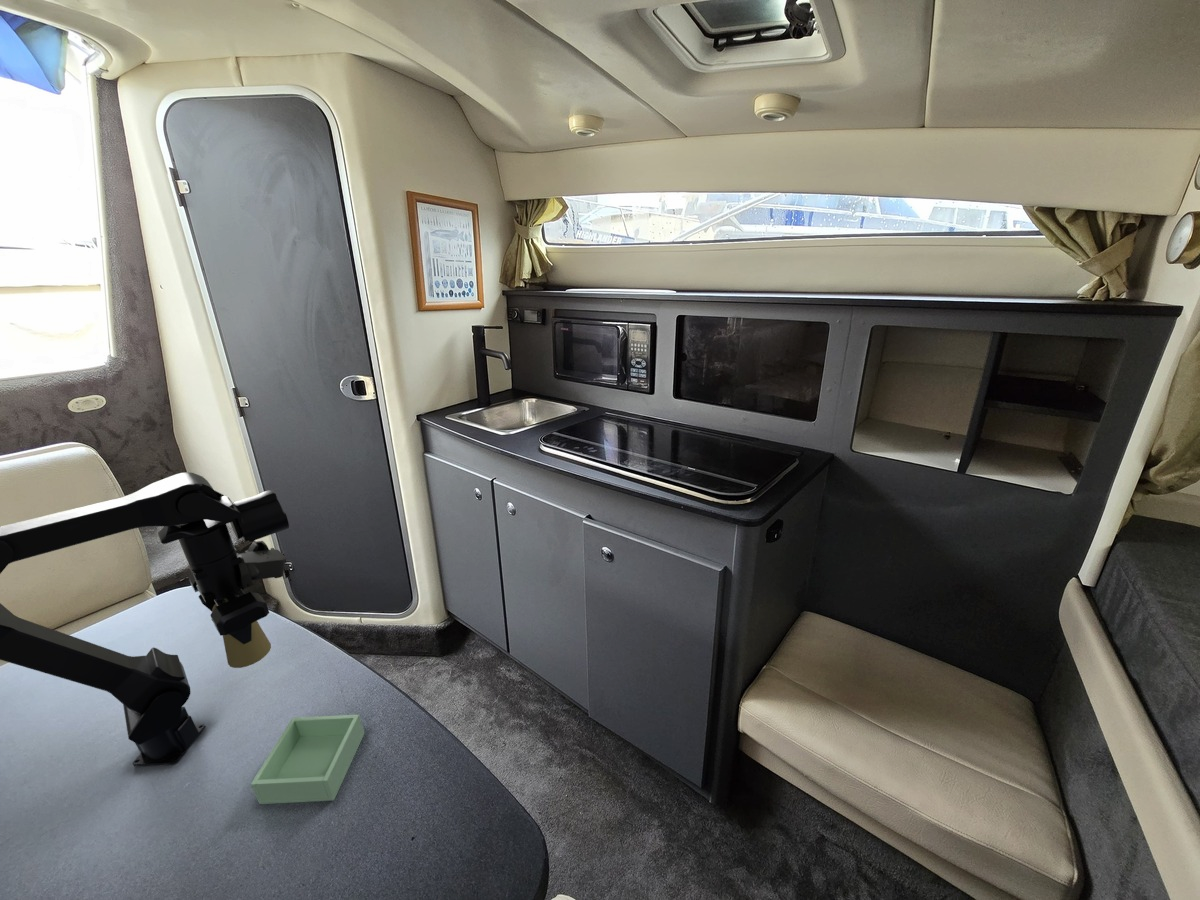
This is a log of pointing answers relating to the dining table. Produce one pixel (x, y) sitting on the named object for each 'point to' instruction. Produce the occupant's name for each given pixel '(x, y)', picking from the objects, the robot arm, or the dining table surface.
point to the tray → (309, 760)
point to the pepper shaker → (246, 647)
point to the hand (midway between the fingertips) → (243, 635)
